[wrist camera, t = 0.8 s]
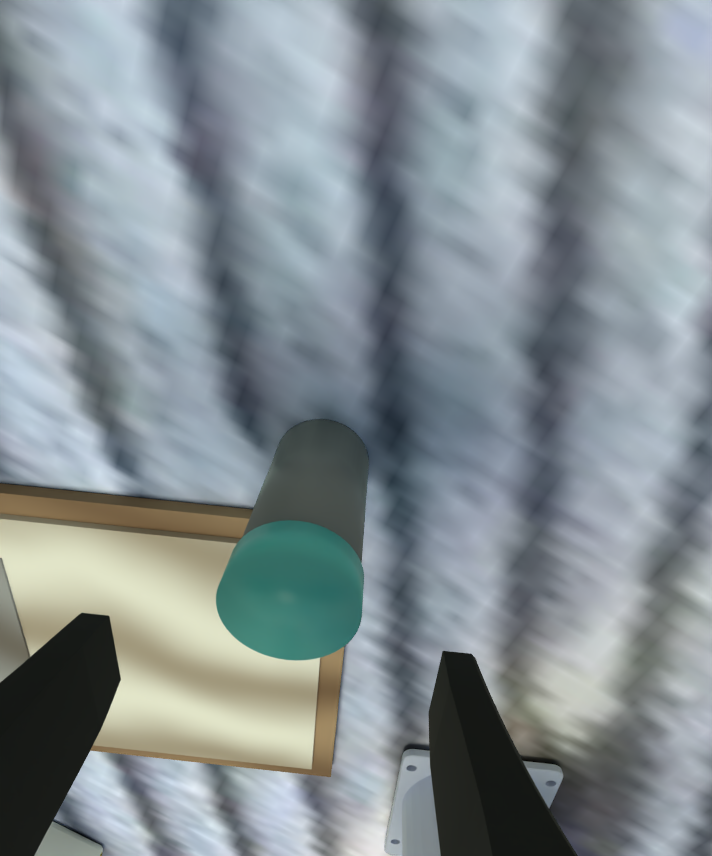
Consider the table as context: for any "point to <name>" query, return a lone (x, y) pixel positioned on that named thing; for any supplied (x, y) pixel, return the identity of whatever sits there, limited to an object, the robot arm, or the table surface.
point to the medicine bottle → (66, 843)
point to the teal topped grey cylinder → (301, 548)
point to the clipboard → (160, 629)
